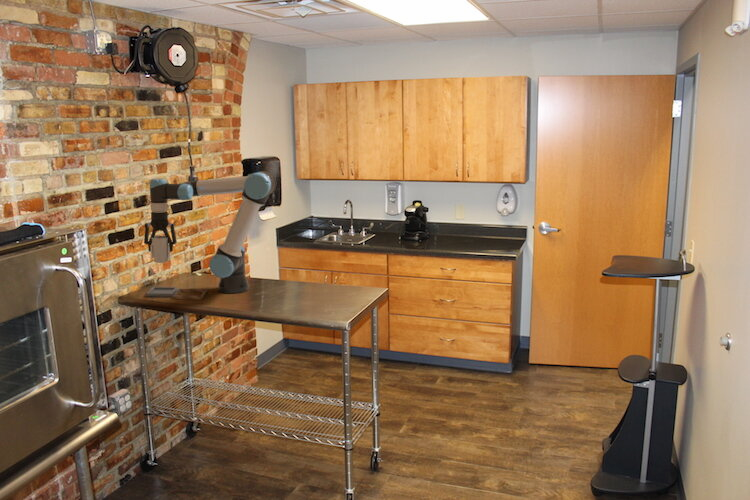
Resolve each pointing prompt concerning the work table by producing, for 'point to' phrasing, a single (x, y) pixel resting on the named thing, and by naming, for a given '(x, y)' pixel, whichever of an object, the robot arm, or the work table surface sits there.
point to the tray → (162, 292)
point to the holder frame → (190, 296)
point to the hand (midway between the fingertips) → (161, 258)
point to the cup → (160, 249)
